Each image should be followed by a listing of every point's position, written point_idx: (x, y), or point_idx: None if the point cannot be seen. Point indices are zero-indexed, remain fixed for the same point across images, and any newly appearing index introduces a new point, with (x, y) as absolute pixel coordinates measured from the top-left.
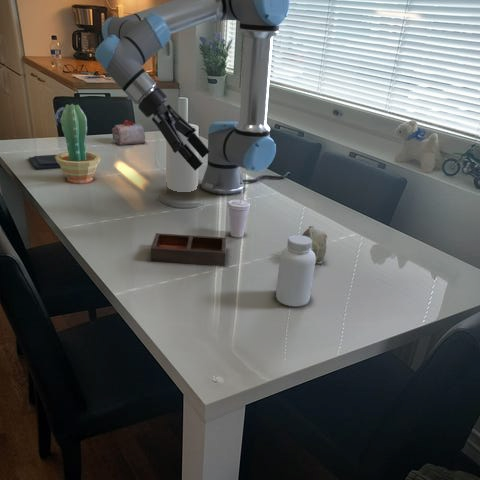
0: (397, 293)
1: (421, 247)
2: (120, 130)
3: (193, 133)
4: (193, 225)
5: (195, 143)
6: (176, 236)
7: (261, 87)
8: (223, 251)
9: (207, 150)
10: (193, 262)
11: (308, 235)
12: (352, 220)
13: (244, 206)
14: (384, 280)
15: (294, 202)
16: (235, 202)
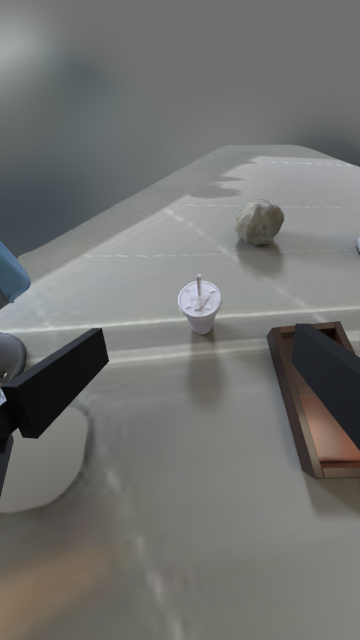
0: (302, 179)
1: (186, 169)
2: None
3: (11, 391)
4: (177, 402)
5: (66, 383)
6: (306, 422)
7: None
8: (335, 324)
9: (97, 334)
10: None
11: (278, 211)
12: (125, 213)
13: (215, 287)
14: (277, 187)
15: (66, 266)
16: (201, 303)
